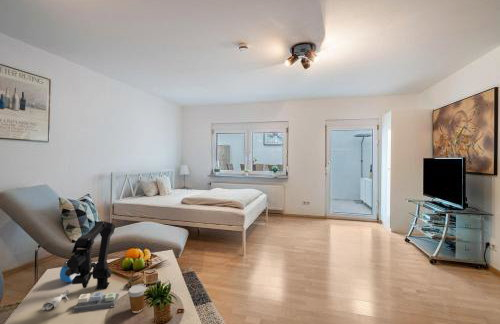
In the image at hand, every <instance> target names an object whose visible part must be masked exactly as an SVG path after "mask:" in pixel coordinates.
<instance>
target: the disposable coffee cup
mask: <svg viewBox="0 0 500 324" xmlns="http://www.w3.org/2000/svg"><path fill="white" fill-rule="evenodd" d="M146 289H147V290H148V287H146V285H144V284H137V285H134V286H132V287H131V288H128V291H127V294H128V296H129V297H128V298H129V305H130V311H131V310H132V311H139V310H141V309H143V308H144V309H145V304H146V300H145V301H144V298H145V296H144V291H145V290H146ZM145 299H146V298H145Z"/></svg>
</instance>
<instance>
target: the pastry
mask: <svg viewBox="0 0 500 324" xmlns="http://www.w3.org/2000/svg"><path fill="white" fill-rule="evenodd" d="M144 273H145V272H135V273H133V274H132V276H131V277H130V278H129V279H128V281H127V284H126V287H127V289H130V288H129V287H132V286H134V285H137V284H143V279H144Z"/></svg>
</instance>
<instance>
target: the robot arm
mask: <svg viewBox="0 0 500 324" xmlns="http://www.w3.org/2000/svg"><path fill="white" fill-rule="evenodd" d="M115 230H116V225H115V223H114V222H107V221H105V220H98V221H97V222H96V223H95V225H93V227H91V229H90V230H89V231H87V233H86V234H82V235H80V236H79V237H78V238H77V239H76V240H75V242H74V245H73V247H72V250H71V256H70V258H69V259H67V260H68V262H67V266H68V267H69V268H68V269H67V270H66V271H65V275H66V276H68V277H69V276H70V275H73V274H75V273H76V274H80V275H76V276H75V277H74V279H73V280H72V285H80V284H81V285H82V287H83V289H87V287H88V284H89V283H90V280H91V278H93V279H94V280H96V286H95V289H94V290H95V291H97V290H105V289H108V287H109V285H110V281H109V278H110V277H111V275H112V270H111V269H110V268H109V267H110V266H109V265H110V264H109V263H108V255H109V248H110V241H111V238H112V236H113V234H114V232H115ZM98 235H100V237H101V239H100V240H101V241H100V245H99V251H98V259H97V262H93V259H92V251H91V250H92V249H93V246H94V244H95V239H96V237H97V236H98ZM108 281H109V282H108Z"/></svg>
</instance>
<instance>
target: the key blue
mask: <svg viewBox="0 0 500 324" xmlns="http://www.w3.org/2000/svg"><path fill="white" fill-rule="evenodd" d="M103 295H104V291H100V292H98V291H97V292H94V293H93V294H92V295H91V297H92V301H98V300H101V299H102V297H103Z"/></svg>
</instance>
